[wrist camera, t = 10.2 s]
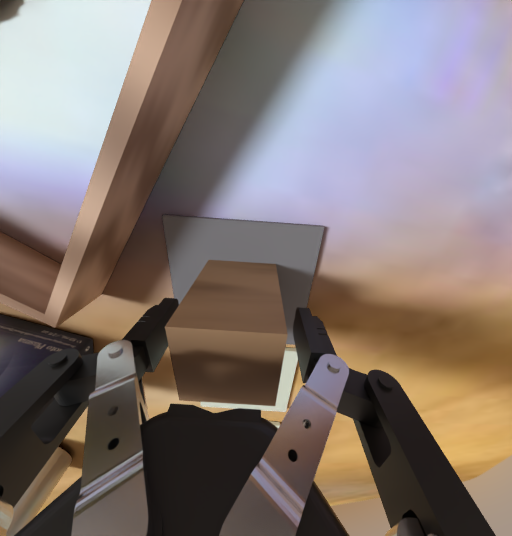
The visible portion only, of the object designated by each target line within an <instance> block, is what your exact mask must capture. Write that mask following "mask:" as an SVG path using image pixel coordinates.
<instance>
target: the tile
mask: <svg viewBox="0 0 512 536" xmlns="http://www.w3.org/2000/svg"><path fill="white" fill-rule="evenodd" d="M297 361H298V356H297V351H296V348H287V347H285V353H284V358H283V364H282V370H281V376H280V382H279V388H278V393H277V399H276V405H275V406H263V405H247V404H231V403H215V402H201V406H204V407H219V408H234V409H237V408H243V409H258V410H264V411H279V412H286V409H287V405H288V400H289V396H290V392H291V387H292V383H293V379H294V374H295V370H296V366H297Z"/></svg>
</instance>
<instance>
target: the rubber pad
mask: <svg viewBox="0 0 512 536" xmlns="http://www.w3.org/2000/svg"><path fill="white" fill-rule="evenodd" d="M162 219H163V226H164V233H165V239H166V246H167V253H168V260H169V266H170V273H171V280H172V286H173V293H174V299H178V302H179V304H180V303H181V301H182V300H183V298H184V297H185V295H186V294H187V292H188V291H189V289H190V288H191V286H192V285H193V283H194V281H195V280H196V278H197V277H198V275H199V274H200V272H201V271H202V269H203V268H204V266H205V265H206V263H207V262H208V260H221V261H237V262H253V263H268V264H276V268H277V274H278V280H279V286H280V292H281V298H282V304H283V310H284V316H285V322H286V328H287V334H288V335H287V341H286V344H293V345H295V341H294V336H293V324H294V319H295V313H296V309H297V307H301V308H307V304H308V299H309V295H310V290H311V286H312V281H313V277H314V272H315V268H316V263H317V259H318V254H319V250H320V245H321V241H322V236H323V232H324V226H321V225H306V224H292V223H278V222H263V221H249V220H235V219H220V218H206V217H192V216H177V215H162Z"/></svg>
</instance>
